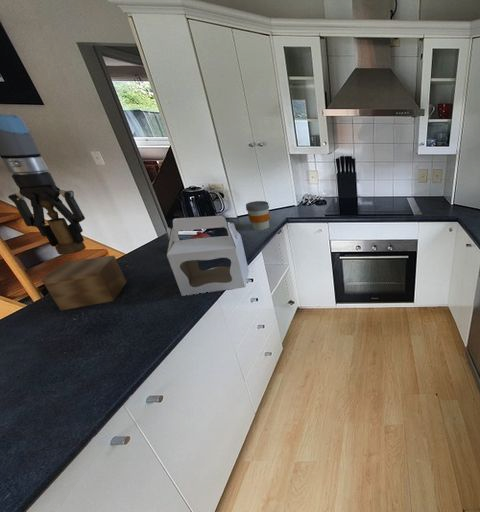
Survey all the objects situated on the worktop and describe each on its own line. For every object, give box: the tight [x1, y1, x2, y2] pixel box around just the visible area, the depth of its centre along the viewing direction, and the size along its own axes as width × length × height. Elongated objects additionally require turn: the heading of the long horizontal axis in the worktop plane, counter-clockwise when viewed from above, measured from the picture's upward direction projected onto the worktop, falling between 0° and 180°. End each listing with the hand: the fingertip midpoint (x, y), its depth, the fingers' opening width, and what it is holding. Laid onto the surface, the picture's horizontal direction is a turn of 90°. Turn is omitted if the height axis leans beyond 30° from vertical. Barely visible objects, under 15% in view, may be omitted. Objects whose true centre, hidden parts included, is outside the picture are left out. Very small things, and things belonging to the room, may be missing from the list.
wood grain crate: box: [41, 255, 127, 311], centre depth 98 cm, size 14×14×12 cm
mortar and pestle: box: [40, 201, 87, 256], centre depth 89 cm, size 7×6×18 cm
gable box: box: [166, 214, 250, 297], centre depth 104 cm, size 22×13×28 cm, turn 108°
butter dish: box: [190, 230, 211, 239], centre depth 138 cm, size 12×12×8 cm
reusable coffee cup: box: [245, 200, 271, 231], centre depth 164 cm, size 13×13×15 cm
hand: (68, 243), depth 91 cm, fingers closed on mortar and pestle, 5 cm apart
